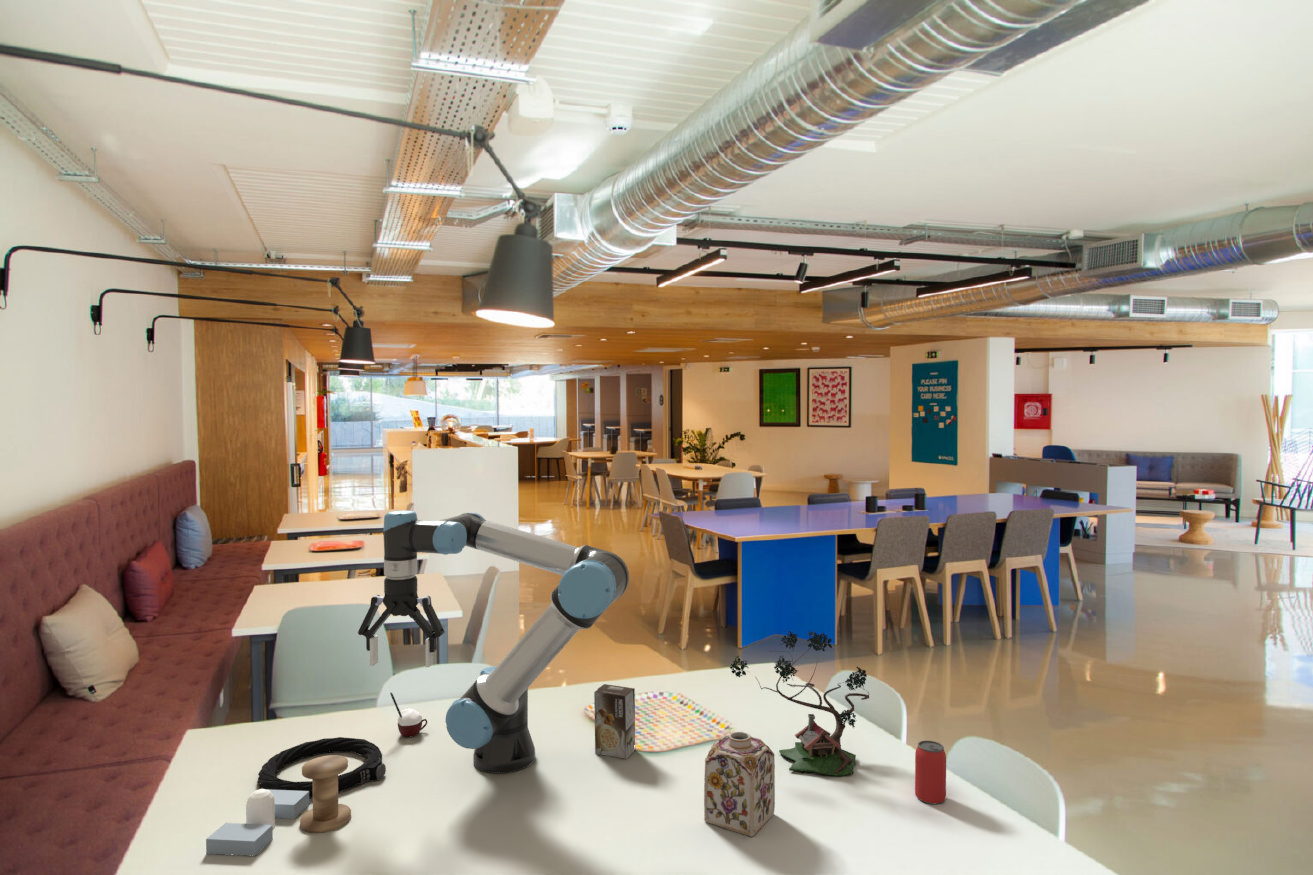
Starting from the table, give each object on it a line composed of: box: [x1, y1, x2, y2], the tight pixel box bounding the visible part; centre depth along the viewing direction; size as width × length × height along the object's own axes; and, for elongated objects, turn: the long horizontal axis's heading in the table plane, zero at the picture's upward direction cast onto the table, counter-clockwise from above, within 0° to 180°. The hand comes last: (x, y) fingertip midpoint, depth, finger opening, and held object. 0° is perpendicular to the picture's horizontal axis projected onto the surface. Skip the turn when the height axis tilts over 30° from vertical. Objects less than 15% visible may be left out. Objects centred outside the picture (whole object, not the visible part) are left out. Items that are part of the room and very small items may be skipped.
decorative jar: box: [703, 731, 776, 838], centre depth 164 cm, size 12×12×18 cm
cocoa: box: [390, 692, 428, 738], centre depth 207 cm, size 10×6×12 cm, turn 97°
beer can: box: [914, 740, 947, 805], centre depth 172 cm, size 7×7×12 cm
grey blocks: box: [205, 789, 310, 857], centre depth 160 cm, size 10×20×3 cm, turn 175°
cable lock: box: [257, 736, 387, 798], centre depth 185 cm, size 28×4×30 cm
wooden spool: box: [299, 754, 352, 834], centre depth 163 cm, size 10×10×12 cm
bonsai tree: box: [729, 630, 870, 777], centre depth 193 cm, size 35×24×32 cm
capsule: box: [245, 788, 276, 829], centre depth 160 cm, size 5×5×8 cm
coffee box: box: [593, 683, 636, 759], centre depth 196 cm, size 9×6×16 cm
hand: (401, 664), depth 182 cm, fingers open, 13 cm apart
